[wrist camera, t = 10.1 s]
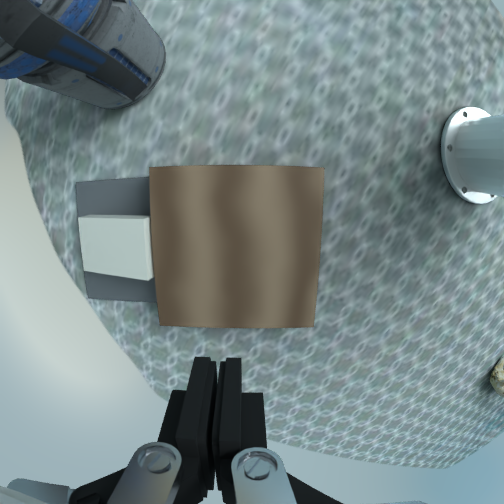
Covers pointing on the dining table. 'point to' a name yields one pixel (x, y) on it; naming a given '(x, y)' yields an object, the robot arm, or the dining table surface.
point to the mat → (116, 203)
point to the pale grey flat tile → (117, 245)
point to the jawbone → (498, 377)
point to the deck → (236, 244)
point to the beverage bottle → (81, 49)
